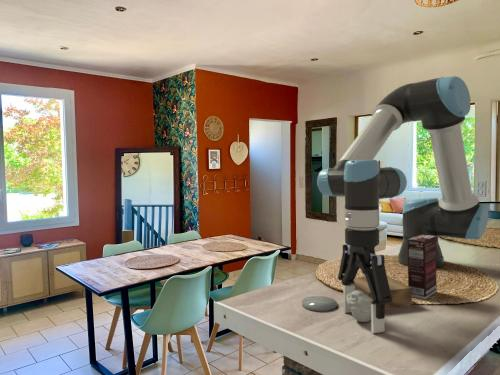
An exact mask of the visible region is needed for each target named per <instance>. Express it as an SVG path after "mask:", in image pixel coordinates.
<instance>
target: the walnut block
mask: <svg viewBox="0 0 500 375" xmlns="http://www.w3.org/2000/svg"><path fill="white" fill-rule="evenodd" d="M387 279H388V283H389V288H390V293H391V297H392V302H391V303H385V310H388V309H390V310H391V309H395V308H396V309H397V308H404V307H405V308H406V307H412V305H413V304H412V303H413V301H412V300H413V297H412V288H411V287H409V286H408V285H407V284H405V283H403V282H401V281H398V280H396V279H394V278H392V277H390V276H388V275H387ZM351 285H355V290H359V291H362V292H363V293H364V294H365V295H367V296H369V297H370V298H371V299H372V300H373V298H372V295H371V292H370V289H369V286H368V283H367V280H366V277H365V276H364V277H363V276H361V277H355V279H354V284H351ZM377 297H378V296H377Z"/></svg>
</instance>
